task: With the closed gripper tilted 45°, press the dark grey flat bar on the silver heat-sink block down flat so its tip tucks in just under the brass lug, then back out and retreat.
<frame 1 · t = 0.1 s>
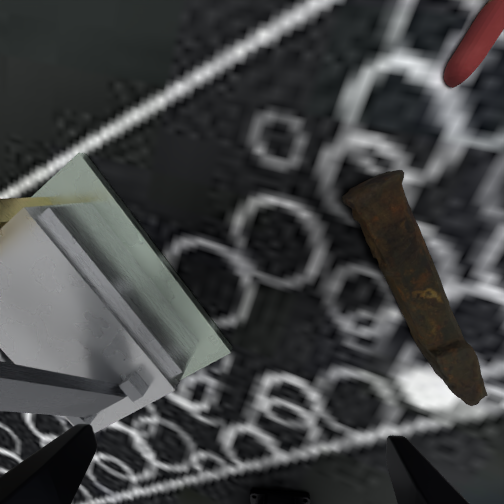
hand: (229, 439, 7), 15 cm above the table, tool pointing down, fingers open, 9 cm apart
dark grey flat bar: (0, 387, 14), point 10 cm above the table, hinge at 35.0°
hand tool: (410, 281, 21), on the table
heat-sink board: (109, 302, 24), on the table
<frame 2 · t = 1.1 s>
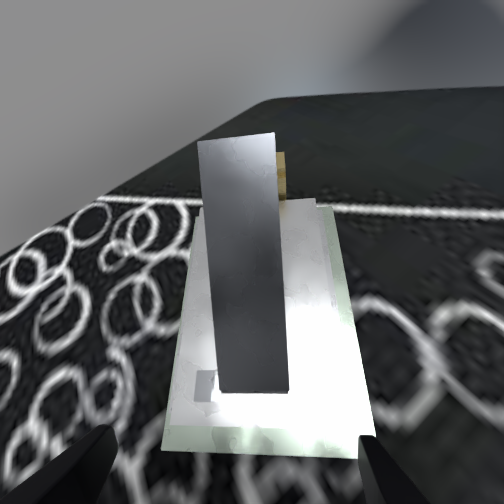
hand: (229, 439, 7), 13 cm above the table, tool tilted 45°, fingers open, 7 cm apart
dark grey flat bar: (246, 271, 14), point 10 cm above the table, hinge at 35.0°
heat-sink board: (263, 313, 23), on the table
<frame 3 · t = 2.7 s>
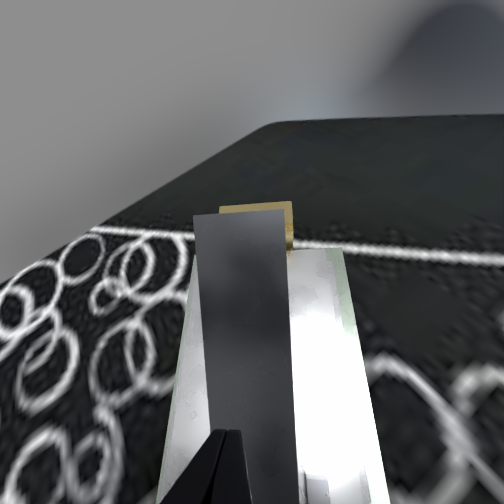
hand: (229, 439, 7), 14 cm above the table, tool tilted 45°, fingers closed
dark grey flat bar: (249, 364, 12), point 10 cm above the table, hinge at 35.0°
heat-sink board: (267, 371, 21), on the table
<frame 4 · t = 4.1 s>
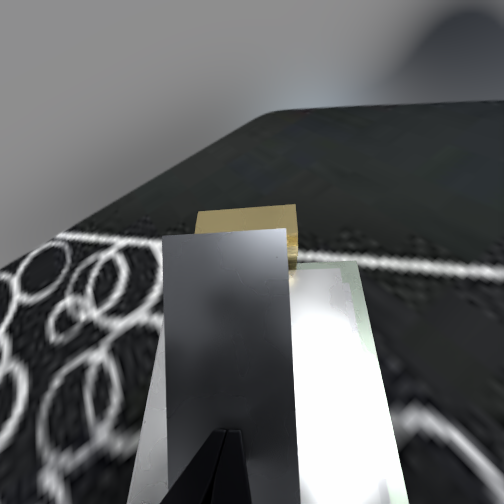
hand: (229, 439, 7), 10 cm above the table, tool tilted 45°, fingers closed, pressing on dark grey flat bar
dark grey flat bar: (233, 456, 8), point 9 cm above the table, hinge at 26.9°, touching gripper
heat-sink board: (262, 425, 16), on the table
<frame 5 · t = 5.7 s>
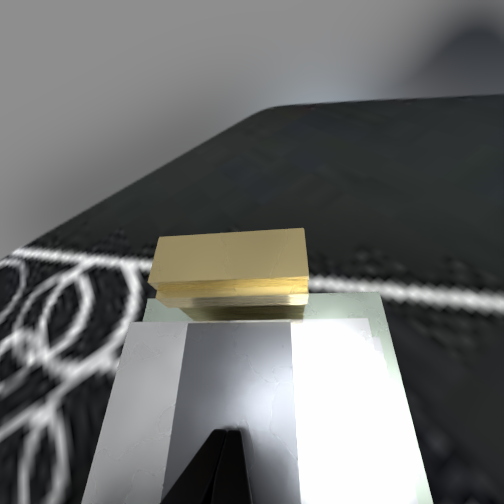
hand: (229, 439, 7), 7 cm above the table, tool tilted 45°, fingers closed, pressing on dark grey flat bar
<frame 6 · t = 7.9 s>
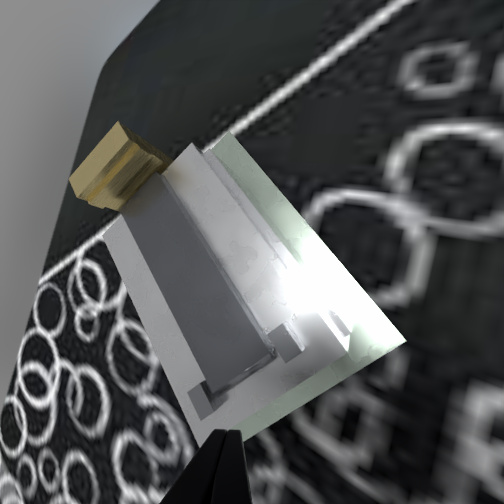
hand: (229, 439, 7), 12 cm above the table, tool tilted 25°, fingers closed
dark grey flat bar: (186, 271, 16), point 6 cm above the table, hinge at -0.3°, touching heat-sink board
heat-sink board: (235, 282, 21), on the table
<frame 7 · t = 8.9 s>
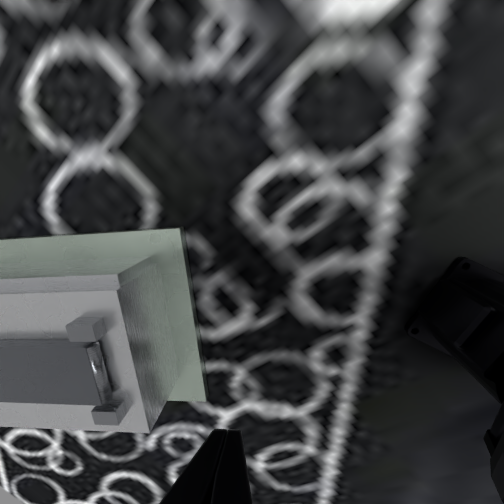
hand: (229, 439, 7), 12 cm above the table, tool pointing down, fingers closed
dark grey flat bar: (2, 371, 16), point 6 cm above the table, hinge at -0.3°, touching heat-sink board
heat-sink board: (85, 319, 22), on the table
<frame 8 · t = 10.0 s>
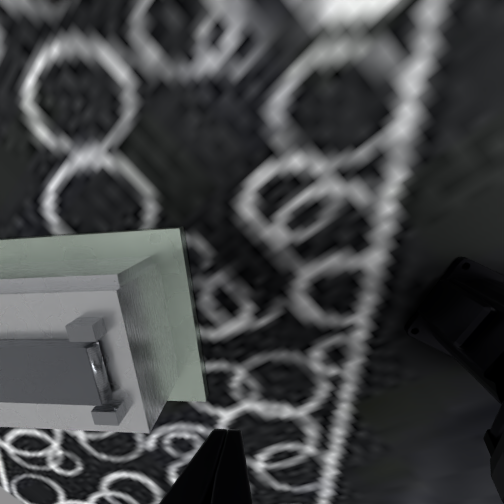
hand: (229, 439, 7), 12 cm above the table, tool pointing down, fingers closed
dark grey flat bar: (2, 371, 16), point 6 cm above the table, hinge at -0.3°, touching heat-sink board
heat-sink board: (85, 319, 22), on the table
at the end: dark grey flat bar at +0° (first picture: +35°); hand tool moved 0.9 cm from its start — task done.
